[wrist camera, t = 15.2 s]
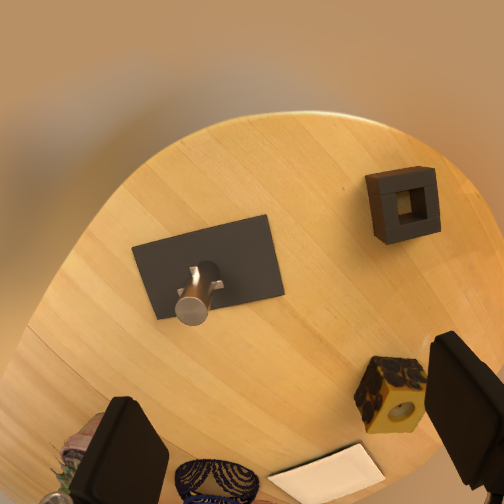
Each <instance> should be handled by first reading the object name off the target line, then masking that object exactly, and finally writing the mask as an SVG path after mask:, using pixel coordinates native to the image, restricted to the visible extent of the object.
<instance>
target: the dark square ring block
mask: <svg viewBox="0 0 504 504" xmlns="http://www.w3.org/2000/svg"><path fill="white" fill-rule="evenodd" d="M365 178H366V184H367V190H368V196H369V202H370V208H371V215H372V221H373V229H374V236H376V237H377V238H378V239H380V240H381V241H382V242H384V243H385V244H386V245H389V244H393V243H397V242H401V241H405V240H409V239H413V238H417V237H421V236H425V235H429V234H433V233H437V232H441V222H440V209H439V198H438V189H437V185H436V184H437V181H436V174H435V168H428V167H421V166H416V167H410V168H404V169H398V170H392V171H387V172H381V173H376V174H370V175H366V176H365ZM405 190H409V193H410V201H411V209H412V212H411V213H407V214H402V215H398V209H397V201H396V194H395V192H400V191H405Z"/></svg>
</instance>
